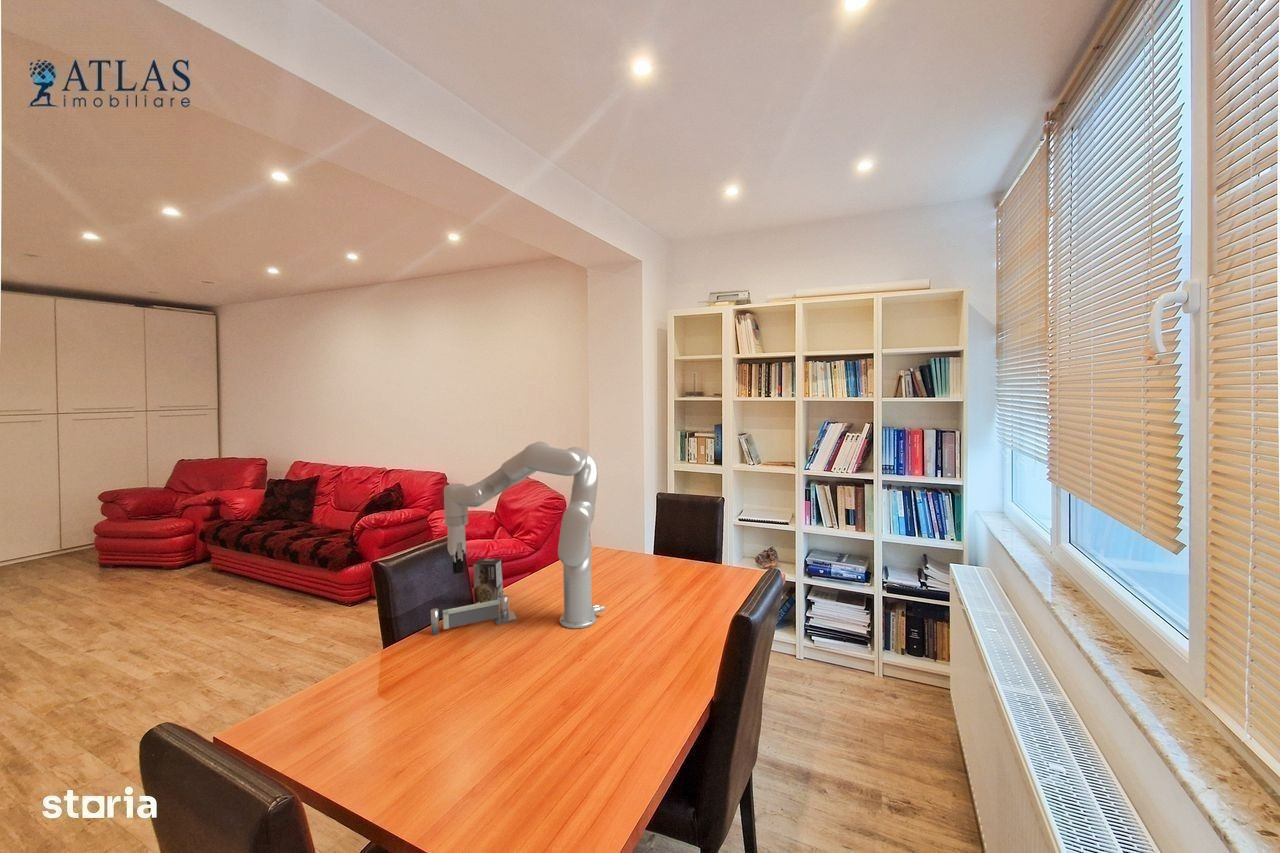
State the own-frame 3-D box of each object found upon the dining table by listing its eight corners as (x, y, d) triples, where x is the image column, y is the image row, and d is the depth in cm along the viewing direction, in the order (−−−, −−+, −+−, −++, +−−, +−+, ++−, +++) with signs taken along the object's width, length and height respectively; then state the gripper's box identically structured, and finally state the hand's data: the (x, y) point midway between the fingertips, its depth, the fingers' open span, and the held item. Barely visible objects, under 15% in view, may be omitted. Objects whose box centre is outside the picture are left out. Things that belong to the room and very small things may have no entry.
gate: (498, 615, 174) (497, 599, 174) (499, 617, 173) (498, 601, 172) (443, 627, 166) (442, 610, 165) (443, 629, 164) (443, 612, 164)
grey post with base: (512, 613, 179) (511, 591, 179) (517, 620, 173) (516, 598, 172) (492, 617, 176) (491, 595, 175) (496, 625, 170) (495, 602, 169)
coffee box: (503, 599, 191) (502, 558, 190) (497, 606, 185) (496, 564, 184) (481, 599, 192) (479, 558, 191) (473, 606, 186) (472, 563, 185)
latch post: (438, 631, 166) (438, 607, 165) (439, 634, 163) (438, 610, 163) (431, 633, 164) (430, 609, 164) (431, 636, 162) (431, 612, 162)
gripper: (442, 516, 177) (444, 567, 178) (447, 526, 163) (449, 581, 164) (464, 514, 180) (466, 564, 181) (471, 523, 167) (473, 577, 168)
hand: (458, 572), depth 173 cm, fingers closed
